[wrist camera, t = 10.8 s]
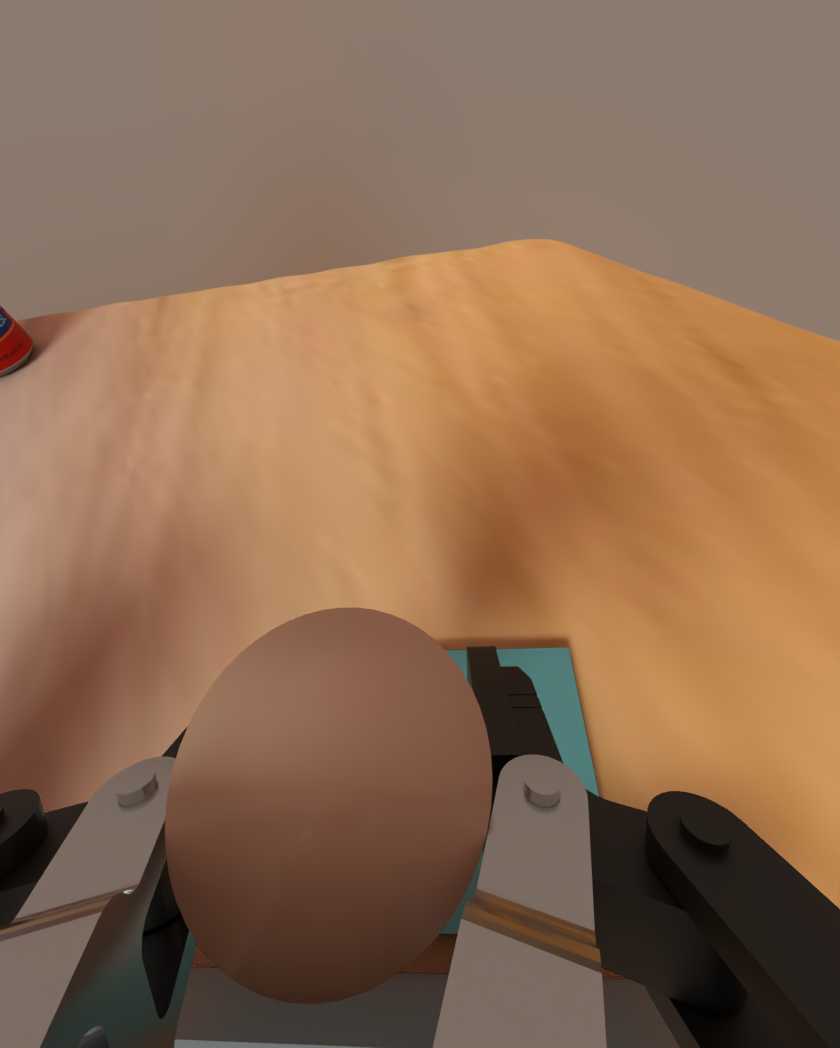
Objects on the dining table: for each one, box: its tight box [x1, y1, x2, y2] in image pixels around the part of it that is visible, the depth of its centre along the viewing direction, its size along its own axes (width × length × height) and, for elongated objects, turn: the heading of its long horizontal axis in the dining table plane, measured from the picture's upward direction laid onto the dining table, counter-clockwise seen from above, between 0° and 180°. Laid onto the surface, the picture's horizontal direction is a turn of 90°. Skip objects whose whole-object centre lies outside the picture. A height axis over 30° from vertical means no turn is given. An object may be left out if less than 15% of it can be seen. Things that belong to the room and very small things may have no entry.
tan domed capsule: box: [165, 608, 492, 1004], centre depth 9 cm, size 4×4×9 cm
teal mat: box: [440, 647, 599, 934], centre depth 19 cm, size 16×11×1 cm
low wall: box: [174, 967, 680, 1048], centre depth 13 cm, size 24×2×5 cm, turn 90°
